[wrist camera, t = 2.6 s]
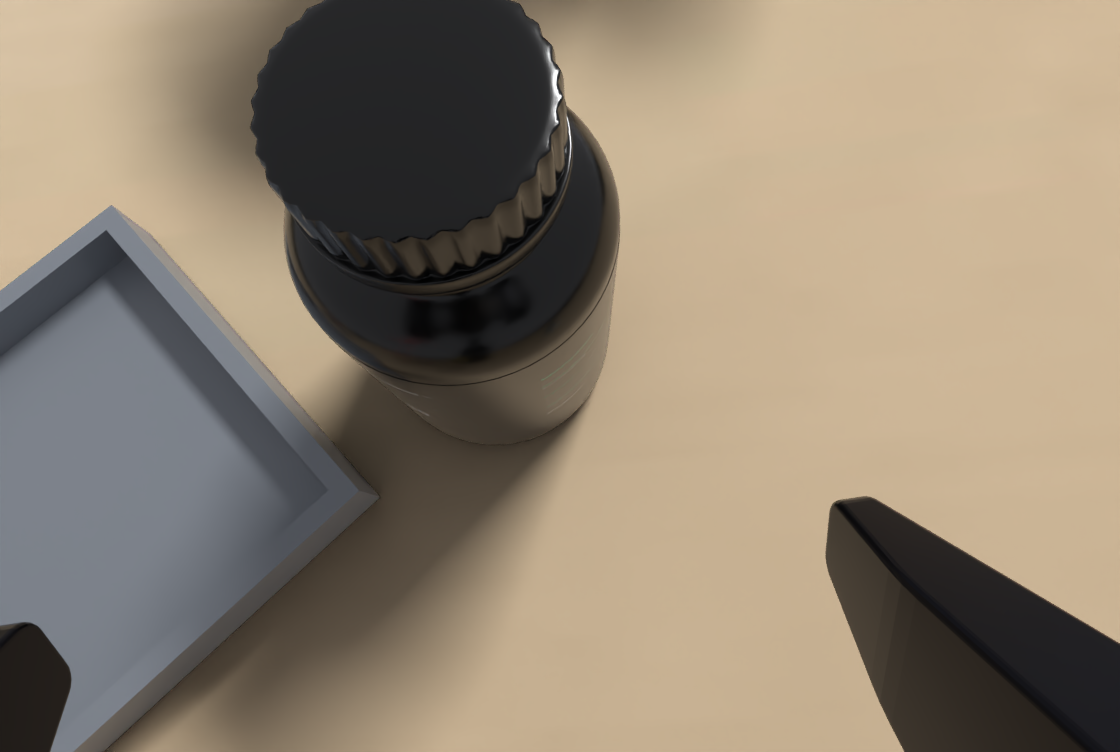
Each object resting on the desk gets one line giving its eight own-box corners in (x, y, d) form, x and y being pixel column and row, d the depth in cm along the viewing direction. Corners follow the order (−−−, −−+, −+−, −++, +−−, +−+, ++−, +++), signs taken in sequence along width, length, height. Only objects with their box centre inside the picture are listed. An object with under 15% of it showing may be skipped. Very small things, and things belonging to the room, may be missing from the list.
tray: (40, 809, 19) (-22, 838, 17) (-170, 486, 21) (-245, 479, 19) (380, 497, 21) (359, 490, 19) (150, 234, 23) (111, 204, 21)
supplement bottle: (349, 356, 22) (86, 128, 10) (490, 205, 23) (396, -150, 12) (510, 494, 21) (416, 411, 9) (651, 327, 22) (728, 64, 10)
